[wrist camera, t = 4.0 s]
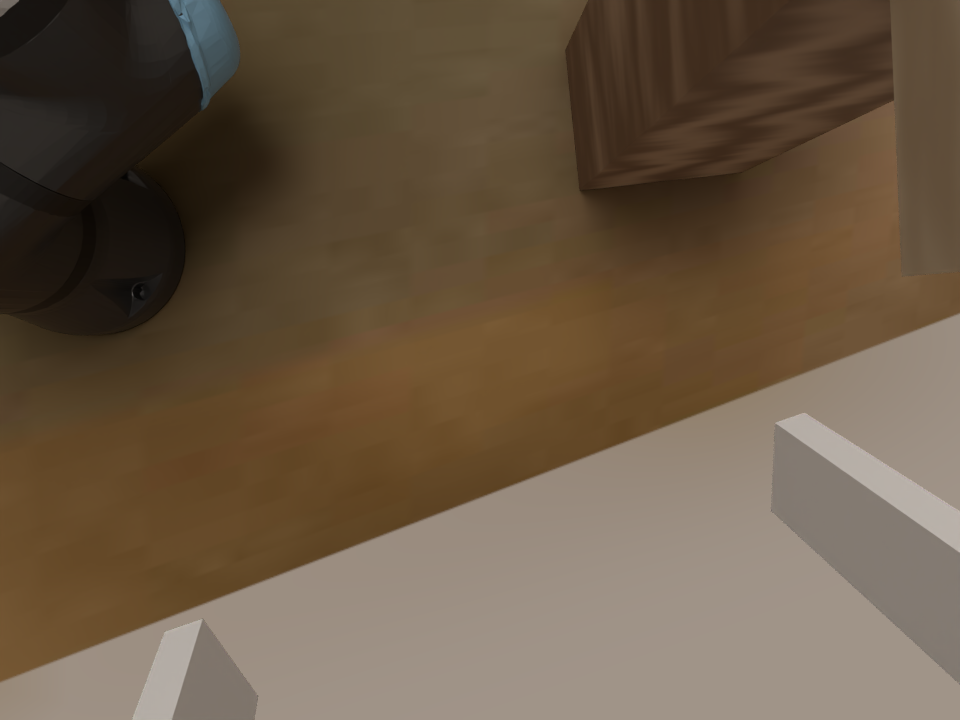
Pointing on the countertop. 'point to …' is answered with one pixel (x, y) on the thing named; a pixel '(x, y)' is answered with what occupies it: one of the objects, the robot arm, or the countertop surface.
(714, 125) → the walnut stand
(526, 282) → the countertop surface
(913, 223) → the ash crossbar
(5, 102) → the robot arm
